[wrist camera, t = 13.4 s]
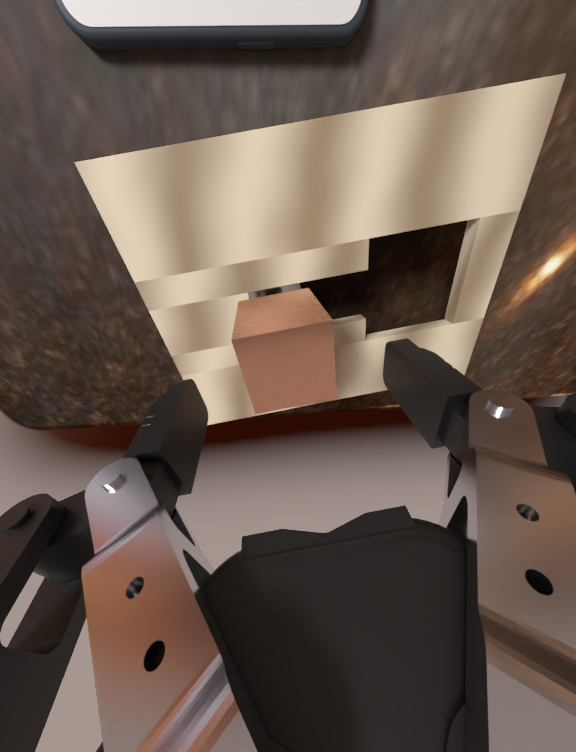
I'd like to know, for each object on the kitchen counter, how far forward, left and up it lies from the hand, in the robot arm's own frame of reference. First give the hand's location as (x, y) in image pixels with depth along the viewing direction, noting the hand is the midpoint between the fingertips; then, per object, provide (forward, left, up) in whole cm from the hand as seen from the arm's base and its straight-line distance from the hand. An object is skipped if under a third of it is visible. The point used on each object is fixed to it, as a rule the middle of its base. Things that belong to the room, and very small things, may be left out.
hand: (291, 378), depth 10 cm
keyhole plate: (-4, 0, -14) cm, 14 cm away
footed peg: (0, 0, -14) cm, 14 cm away
